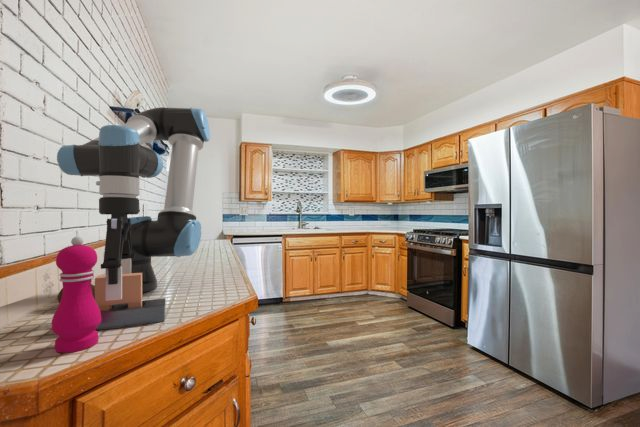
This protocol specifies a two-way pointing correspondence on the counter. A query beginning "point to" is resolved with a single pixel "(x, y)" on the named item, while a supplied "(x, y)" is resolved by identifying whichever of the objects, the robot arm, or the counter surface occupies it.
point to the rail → (133, 314)
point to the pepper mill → (76, 299)
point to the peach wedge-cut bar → (129, 291)
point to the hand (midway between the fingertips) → (119, 292)
